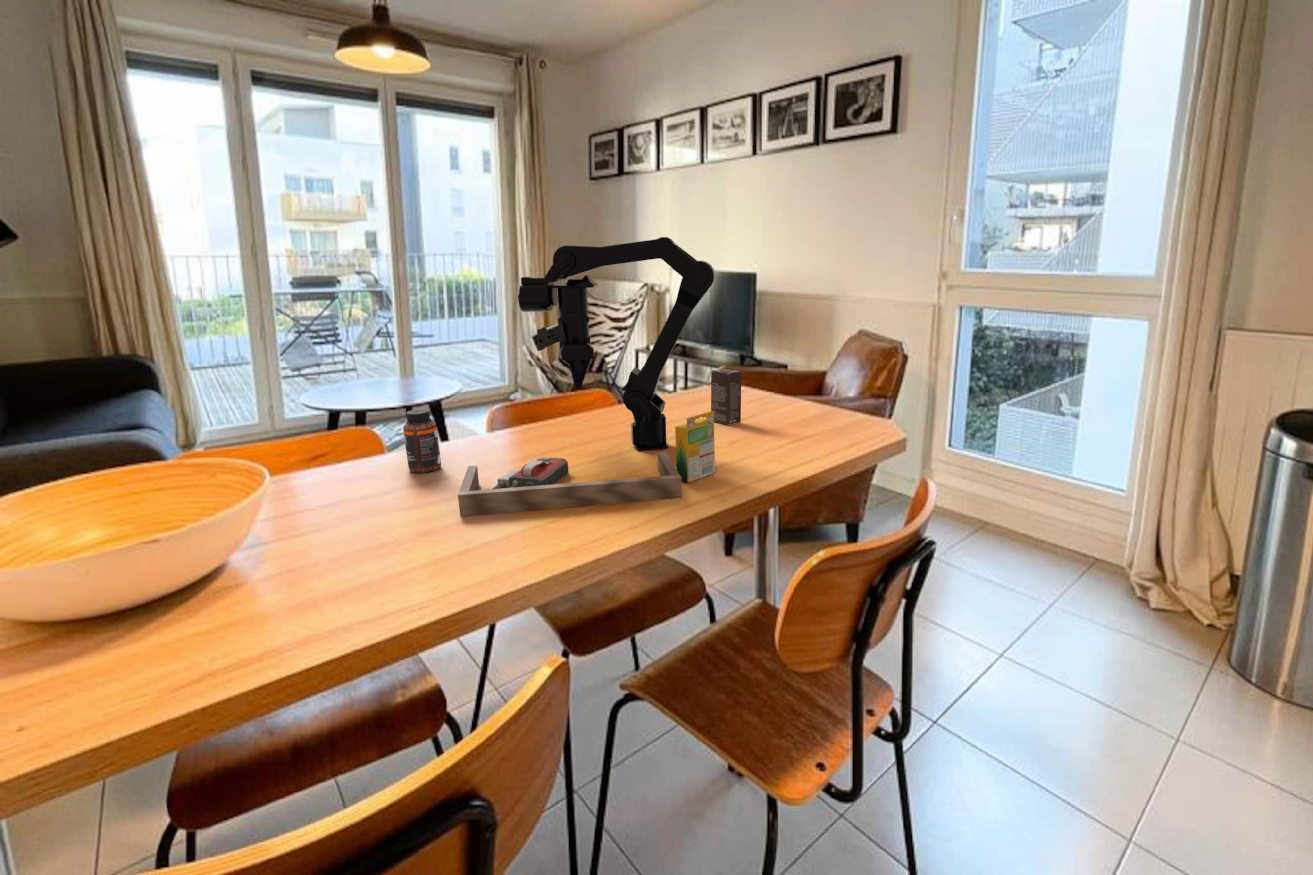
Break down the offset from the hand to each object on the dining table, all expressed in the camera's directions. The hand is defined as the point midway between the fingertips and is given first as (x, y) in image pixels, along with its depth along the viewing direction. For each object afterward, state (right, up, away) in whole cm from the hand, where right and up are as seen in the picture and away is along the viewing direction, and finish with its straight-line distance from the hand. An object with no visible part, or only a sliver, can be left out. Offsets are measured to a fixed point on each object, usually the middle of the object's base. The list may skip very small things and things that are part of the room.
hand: (577, 388), depth 137 cm
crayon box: (+23, -17, -18) cm, 34 cm away
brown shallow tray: (+2, -19, -23) cm, 30 cm away
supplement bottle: (-28, -16, -10) cm, 34 cm away
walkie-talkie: (-6, -19, -21) cm, 29 cm away
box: (+32, -7, +19) cm, 38 cm away
